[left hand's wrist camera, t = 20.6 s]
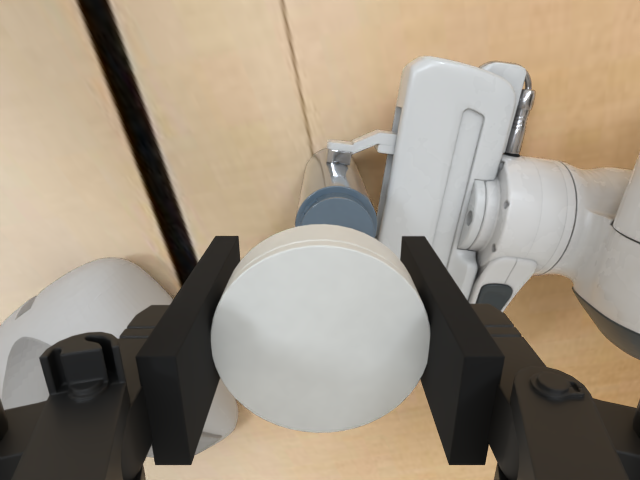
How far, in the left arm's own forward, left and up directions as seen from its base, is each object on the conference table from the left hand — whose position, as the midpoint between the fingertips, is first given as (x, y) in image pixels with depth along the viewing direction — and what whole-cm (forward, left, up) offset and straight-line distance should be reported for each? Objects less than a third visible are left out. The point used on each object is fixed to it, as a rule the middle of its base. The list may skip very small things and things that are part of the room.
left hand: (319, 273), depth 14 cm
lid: (0, 0, +4) cm, 4 cm away
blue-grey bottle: (+2, -1, -25) cm, 25 cm away
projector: (-8, -26, -25) cm, 37 cm away
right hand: (+1, -1, -18) cm, 18 cm away
